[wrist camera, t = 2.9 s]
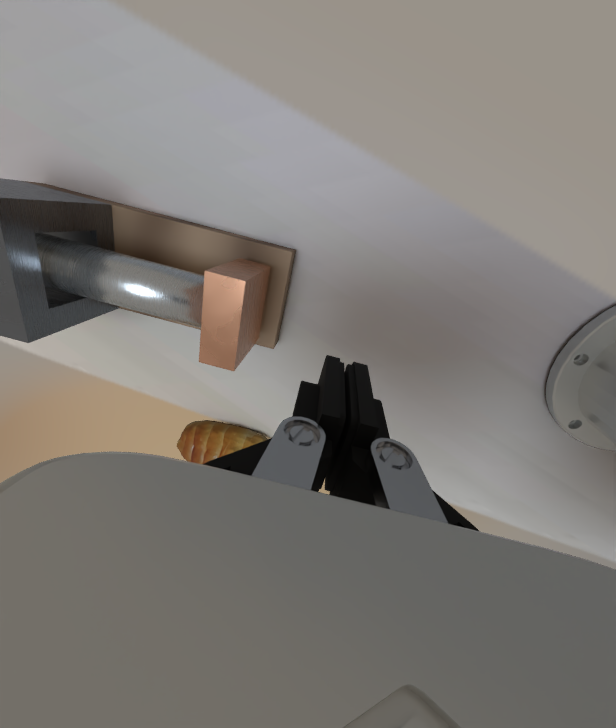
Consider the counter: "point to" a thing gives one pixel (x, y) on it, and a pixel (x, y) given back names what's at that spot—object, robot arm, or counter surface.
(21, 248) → the shaft frame
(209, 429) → the pastry
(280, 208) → the counter surface
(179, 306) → the shaft
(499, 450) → the counter surface
